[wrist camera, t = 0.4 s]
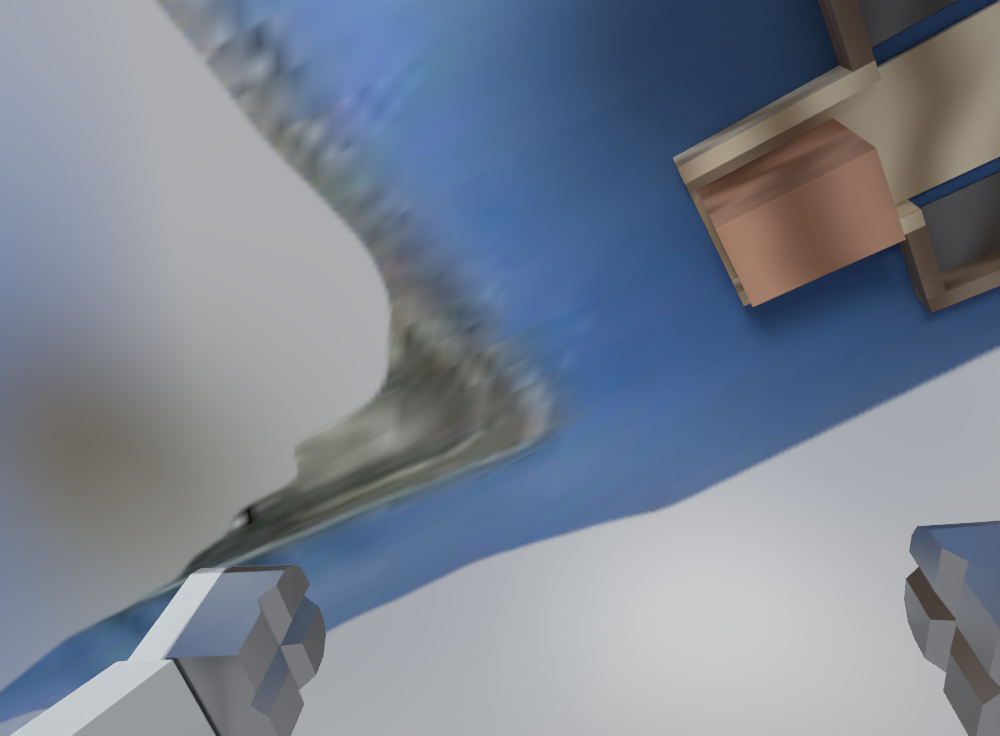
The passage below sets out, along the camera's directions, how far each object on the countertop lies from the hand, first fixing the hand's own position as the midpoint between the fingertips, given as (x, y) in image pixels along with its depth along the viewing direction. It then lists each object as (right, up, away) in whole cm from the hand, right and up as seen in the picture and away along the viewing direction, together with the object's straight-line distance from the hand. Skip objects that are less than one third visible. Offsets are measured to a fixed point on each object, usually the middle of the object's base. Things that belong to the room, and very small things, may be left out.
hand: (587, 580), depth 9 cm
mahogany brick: (+18, +15, +35) cm, 42 cm away
